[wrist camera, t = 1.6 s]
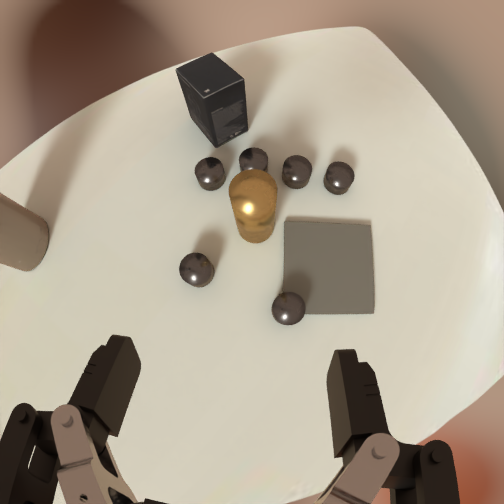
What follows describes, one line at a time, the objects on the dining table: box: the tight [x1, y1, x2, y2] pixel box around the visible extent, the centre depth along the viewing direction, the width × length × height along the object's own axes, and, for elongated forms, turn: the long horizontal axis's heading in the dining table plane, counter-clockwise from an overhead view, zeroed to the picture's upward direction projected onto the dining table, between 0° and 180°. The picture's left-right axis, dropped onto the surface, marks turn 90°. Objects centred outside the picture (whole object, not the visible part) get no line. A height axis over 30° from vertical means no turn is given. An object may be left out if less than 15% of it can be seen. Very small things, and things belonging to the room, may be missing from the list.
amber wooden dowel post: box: [229, 169, 277, 243], centre depth 31 cm, size 4×4×10 cm
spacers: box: [179, 148, 354, 325], centre depth 34 cm, size 21×22×2 cm
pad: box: [283, 221, 374, 314], centre depth 34 cm, size 11×11×1 cm
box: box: [176, 53, 248, 148], centre depth 35 cm, size 8×6×11 cm
